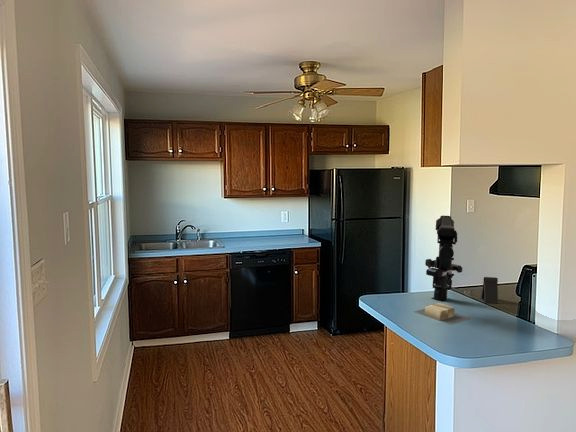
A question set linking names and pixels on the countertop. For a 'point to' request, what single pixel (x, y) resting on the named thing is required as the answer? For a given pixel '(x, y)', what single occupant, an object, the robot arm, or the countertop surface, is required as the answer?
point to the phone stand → (490, 290)
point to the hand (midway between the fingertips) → (443, 288)
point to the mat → (451, 320)
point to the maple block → (439, 311)
